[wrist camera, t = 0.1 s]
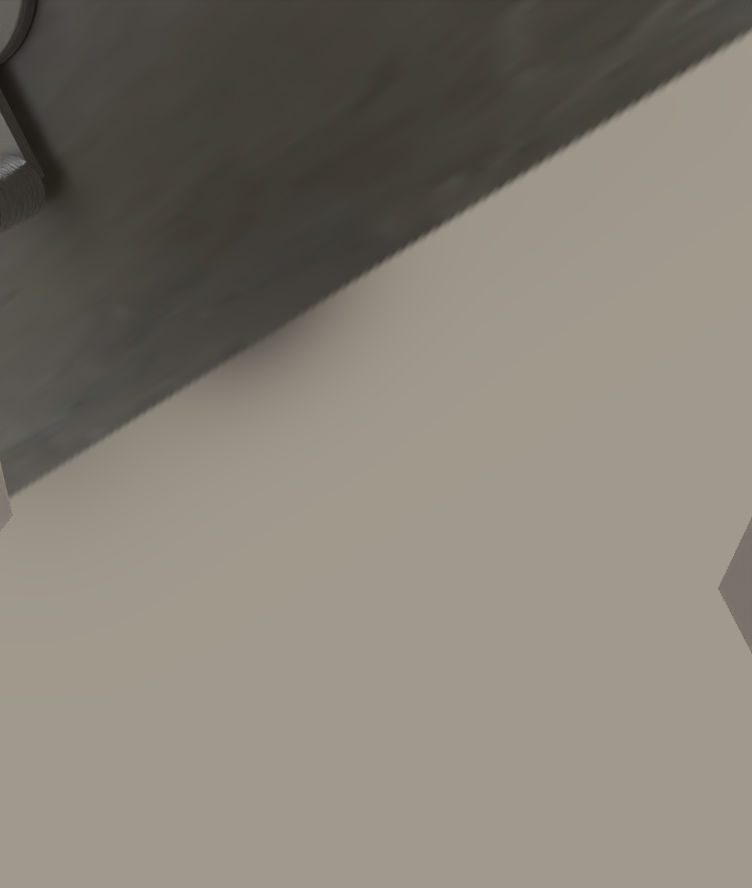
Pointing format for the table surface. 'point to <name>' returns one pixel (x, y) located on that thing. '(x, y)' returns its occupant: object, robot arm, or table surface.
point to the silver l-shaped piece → (16, 131)
